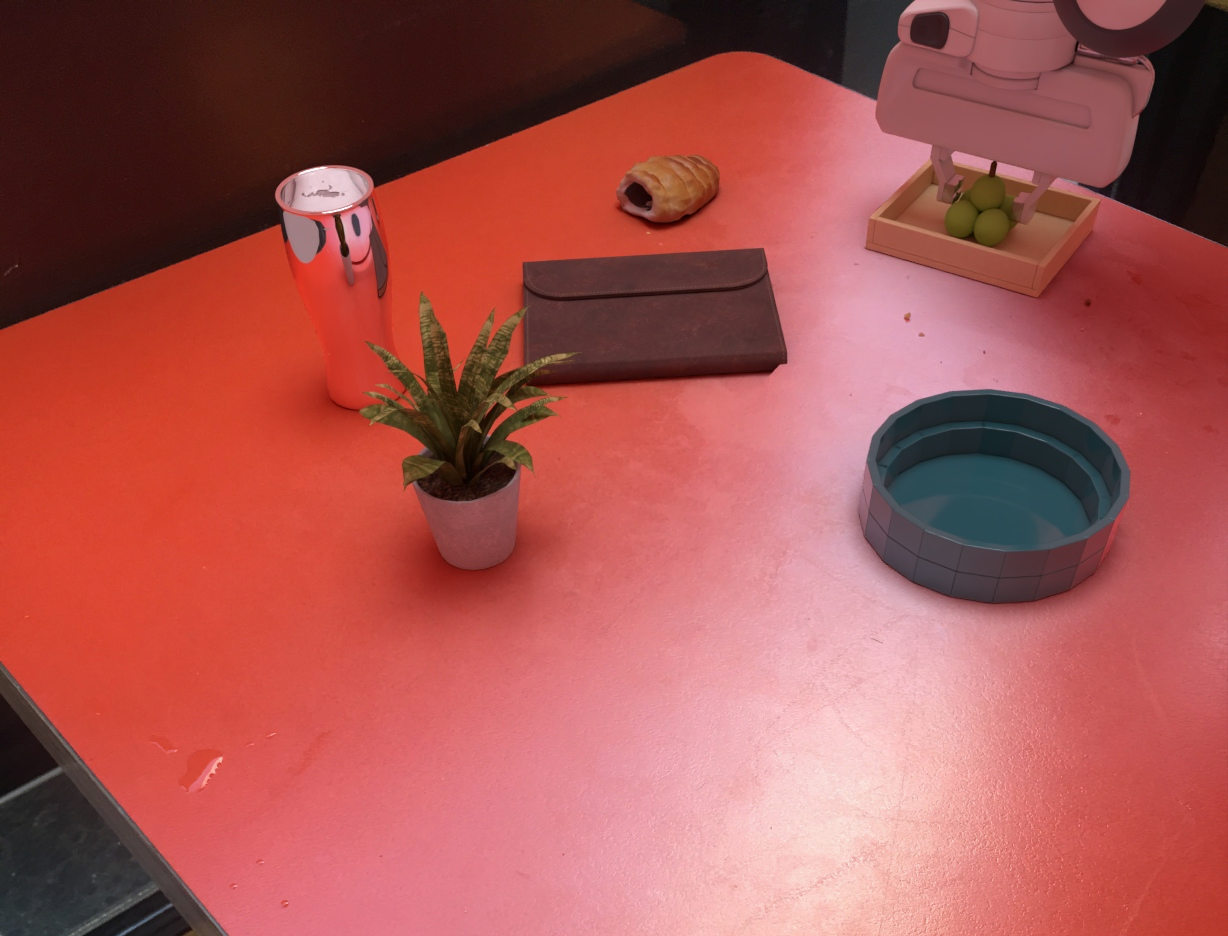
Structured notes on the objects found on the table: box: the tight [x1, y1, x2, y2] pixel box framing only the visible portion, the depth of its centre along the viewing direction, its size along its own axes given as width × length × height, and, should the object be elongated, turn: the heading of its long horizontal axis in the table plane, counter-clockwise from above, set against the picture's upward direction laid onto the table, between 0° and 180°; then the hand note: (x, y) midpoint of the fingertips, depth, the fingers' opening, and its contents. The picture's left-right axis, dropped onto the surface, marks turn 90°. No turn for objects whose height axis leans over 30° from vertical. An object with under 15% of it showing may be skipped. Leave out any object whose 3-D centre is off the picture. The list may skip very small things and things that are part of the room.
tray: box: [864, 158, 1102, 298], centre depth 102 cm, size 15×12×3 cm
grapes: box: [944, 161, 1018, 246], centre depth 101 cm, size 5×5×6 cm
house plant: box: [357, 289, 581, 571], centre depth 75 cm, size 14×14×16 cm
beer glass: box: [274, 164, 407, 411], centre depth 88 cm, size 7×7×15 cm
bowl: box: [857, 388, 1132, 604], centre depth 80 cm, size 16×16×5 cm
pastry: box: [615, 154, 721, 224], centre depth 107 cm, size 9×7×4 cm
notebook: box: [522, 247, 788, 386], centre depth 97 cm, size 15×20×2 cm
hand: (983, 210), depth 101 cm, fingers closed on grapes, 5 cm apart
